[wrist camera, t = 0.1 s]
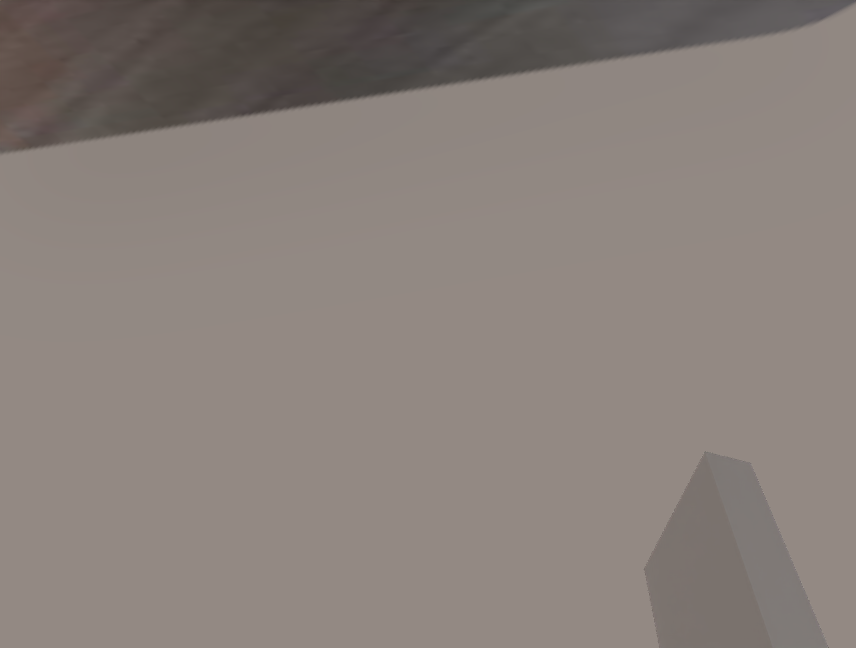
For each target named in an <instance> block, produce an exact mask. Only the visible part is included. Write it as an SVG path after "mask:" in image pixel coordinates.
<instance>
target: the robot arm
mask: <svg viewBox="0 0 856 648" xmlns="http://www.w3.org/2000/svg"><path fill="white" fill-rule="evenodd" d="M644 570H645V575H646V580H647V585H648V590H649V596H650V601H651V606H652V611H653V617H654V622H655V627H656V632H657V637H658V643H659V648H829V647H828V645H827V643H826V640H825V638H824V635H823V633H822V631H821V628H820V626H819V624H818V621H817V619H816V616H815V614H814V612H813V609H812V607H811V605H810V602H809V600H808V597H807V595H806V593H805V590H804V588H803V586H802V583H801V581H800V579H799V576H798V574H797V571H796V569H795V567H794V564H793V562H792V560H791V557H790V555H789V553H788V550H787V548H786V545H785V543H784V541H783V538H782V536H781V534H780V531H779V529H778V527H777V524H776V522H775V519H774V517H773V515H772V512H771V510H770V508H769V505H768V503H767V500H766V498H765V496H764V493H763V491H762V489H761V486H760V485H759V481H758V479H757V477H756V474H755V472H754V470H753V467H752V465H751V463H750V462H745V461H741V460H737V459H733V458H729V457H725V456H720V455H717V454H713V453H709V452H704V455H703V456H702V458H701V460H700V462H699V464H698V466H697V468H696V470H695V472H694V474H693V475H692V477H691V479H690V482H689V483H688V485H687V487H686V489H685V491H684V493H683V495H682V497H681V499H680V501H679V502H678V504H677V506H676V508H675V510H674V512H673V514H672V516H671V518H670V520H669V522H668V523H667V525H666V527H665V529H664V531H663V533H662V535H661V537H660V539H659V541H658V543H657V545H656V547H655V549H654V551H653V552H652V554H651V556H650V558H649V560H648V562H647V564H646V566H645V568H644Z"/></svg>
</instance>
